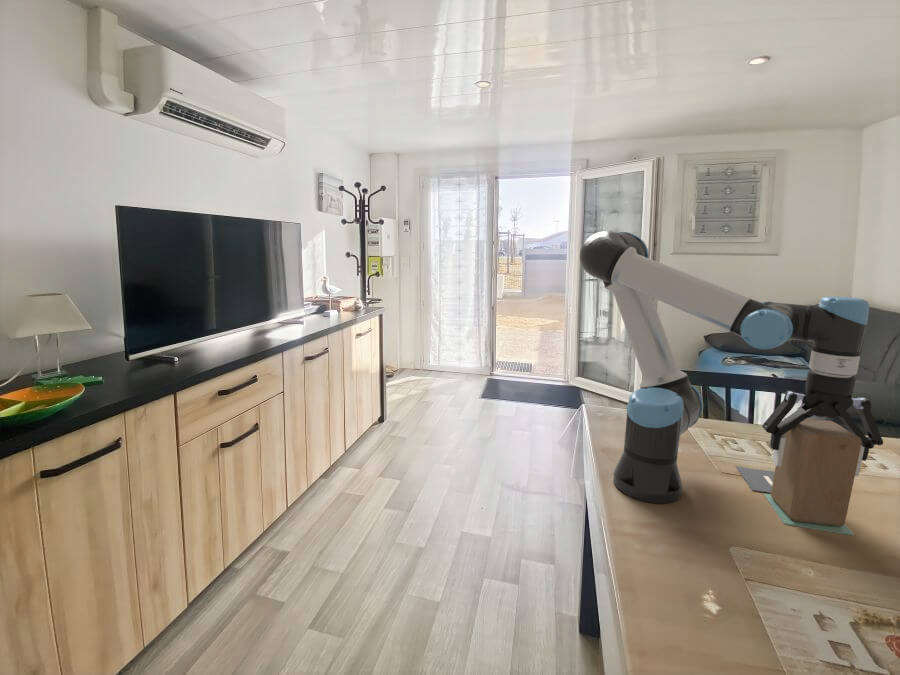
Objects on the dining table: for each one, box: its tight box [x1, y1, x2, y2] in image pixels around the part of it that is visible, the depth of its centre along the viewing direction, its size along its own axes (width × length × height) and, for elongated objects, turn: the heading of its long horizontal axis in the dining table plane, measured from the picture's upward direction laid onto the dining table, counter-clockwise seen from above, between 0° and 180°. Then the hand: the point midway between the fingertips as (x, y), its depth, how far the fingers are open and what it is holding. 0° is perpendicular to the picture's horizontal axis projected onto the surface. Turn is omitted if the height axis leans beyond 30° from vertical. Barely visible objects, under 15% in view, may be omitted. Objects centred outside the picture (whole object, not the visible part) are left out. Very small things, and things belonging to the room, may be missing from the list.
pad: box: [762, 492, 855, 536], centre depth 96 cm, size 12×12×1 cm
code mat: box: [736, 466, 775, 494], centre depth 108 cm, size 18×12×1 cm, turn 72°
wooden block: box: [771, 417, 862, 526], centre depth 94 cm, size 10×10×20 cm
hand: (813, 468), depth 94 cm, fingers open, 13 cm apart
